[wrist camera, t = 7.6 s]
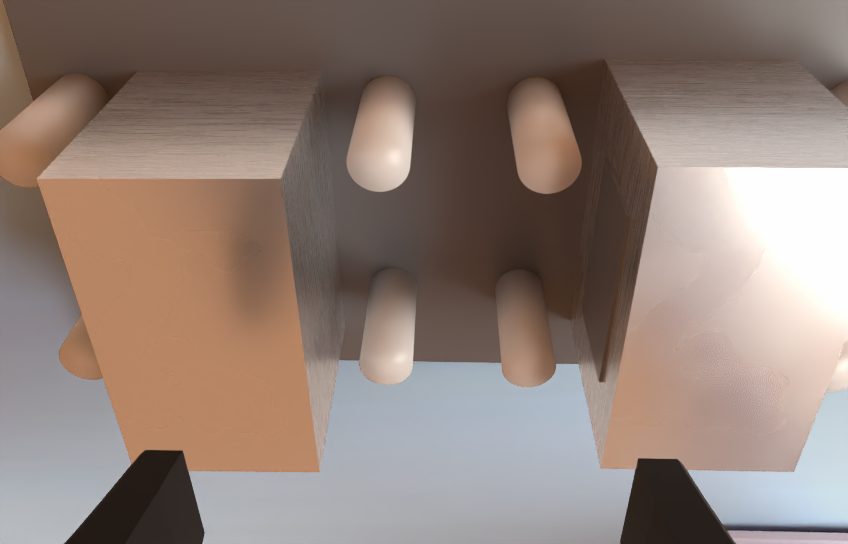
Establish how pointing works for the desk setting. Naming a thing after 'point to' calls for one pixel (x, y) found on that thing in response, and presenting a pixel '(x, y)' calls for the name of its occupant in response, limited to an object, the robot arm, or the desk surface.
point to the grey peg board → (420, 139)
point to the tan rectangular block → (711, 262)
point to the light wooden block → (208, 263)
